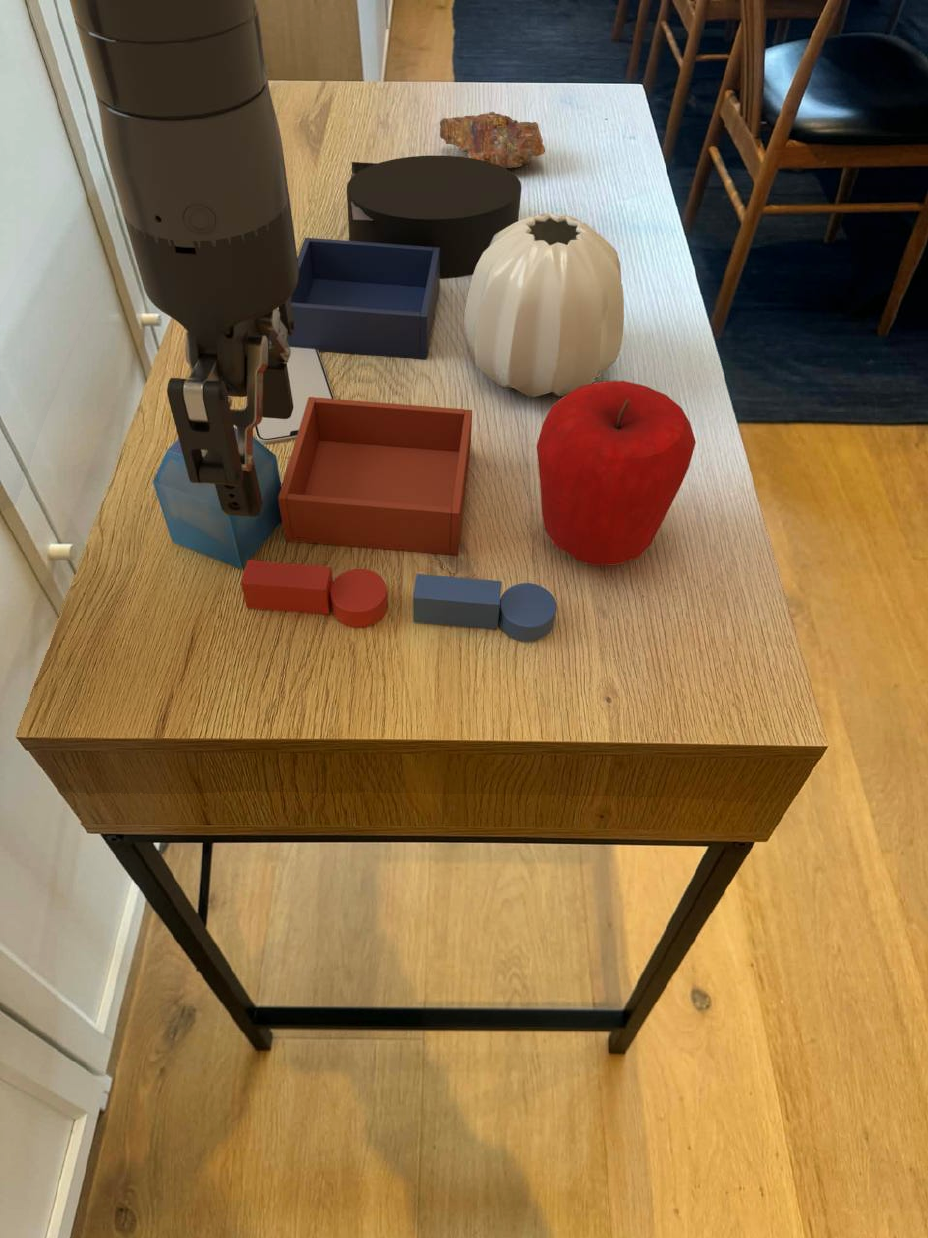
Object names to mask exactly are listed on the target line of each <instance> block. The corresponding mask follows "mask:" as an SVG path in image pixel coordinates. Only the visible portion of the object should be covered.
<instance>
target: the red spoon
mask: <svg viewBox="0 0 928 1238" xmlns="http://www.w3.org/2000/svg"><path fill="white" fill-rule="evenodd" d="M240 587H241V590H242V594H243V598H244V602H245V607H246V609H247V608H248V609H256V610H257V609H258V610H270V611H280V612H281V611H282V612H292V613H305V614H315V615H326V616H329V615H330V614H331V611H332V614H333V616H334V618H335V619H336V620H337V621H338V622H340V623H341V624H343V625H345V626H347V627H350V628H358V629H359V628H366V627H370V626H372V625H373V626H374V625H375V624H377V623H378V622H380V621H381V620H382V619H383V618H384V616H385V615H386V613H387V610H388V606H389V603H388V586H387V583H386V581H385V580H384V578H383V577H382V576H381V575H380V574H379V573H377V572H375V571H373V570H370V569H366V568H353V569H349V570H346V571H343V572H342V573H340V574H339V575H337V576H336V577H335V578H334V576H333V568H332V567H331V566H326V565H314V564H313V565H312V564H304V563H290V562H279V561H268V560H267V561H266V560H255V559H250V560H248V561H247V564H246V565H245V567H244V570H243V573H242V576H241V580H240Z"/></svg>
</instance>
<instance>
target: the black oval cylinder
mask: <svg viewBox="0 0 928 1238" xmlns="http://www.w3.org/2000/svg"><path fill="white" fill-rule="evenodd" d="M350 163H351V174H350V179H349V180H348V182H347V183H346V202H347V221H348V238H349V240H348V241H358V242H371V243H384V244H397V245H411V246H424V247H438V248H440V279H449V278H456V277H457V278H458V277H464V276H470V275H473V273H474V270H475V267H476V265H477V263H478V261H479V259H480V257H481V255H482V253H483V252H484V251H485V250H486V249H487V248H488V247H489V245H490V243H491V241H492V239H493V237H494V235H495V234H496V233H498V232H500V231H501V230H503V229H505V228H506V227H508V226H510V225H512V224H513V223H515V222H518V221H519V217H520V207H521V198H522V197H521V196H522V183H521V180H520V179H519V178H518V175H516V174H514V173H513V172H512V171H511V170H509V169H508V168H503V167H501V166H499V165H496V164H493V163H490V162H487V161H482V160H478V159H473V158H468V157H465V156H459V155H458V156H457V155H454V156H453V155H444V154H443V155H442V154H441V155H417V156H407V157H399V158H393V159H388V160H384V161H381V162H361V161H360V162H359V161H351V162H350Z"/></svg>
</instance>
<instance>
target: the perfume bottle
mask: <svg viewBox="0 0 928 1238" xmlns="http://www.w3.org/2000/svg"><path fill="white" fill-rule="evenodd" d="M234 430H235V435H236V440H237V445H238V430H237V427H234ZM253 458H254V465H255V469H256V474H257V479H258V483H259V488H260V493H261V497H262V502H263V505H262V508H261V511H260V514H259V515H258V516H256V517H251V516H238V515H229V514H226V513H225V512H224V511H223V510H222V508H221V505H220V501H219V498H218V494H217V490H216V486H215V484H211V483H191V482H190V480H189V476H188V472H187V468H186V465H185V461H184V457H183V453H182V449H181V445H180V441H179V438H178V439H176V441H175V442H173V443H172V444H171V445H170V446H169V447H168V448H167V449H166V451H165V454H164V456H163V458H162V459H161V462H160V464H159V466H158V469H157V471H156V473H155V474H154V478H153V479H152V484H153V486H154V491H155V493H156V496H157V499H158V502H159V506H160V508H161V512H162V515H163V518H164V521H165V523H166V527H167V529H168V533H169V537H170V539H171V543H173V544H176V545H179V546H180V547H184V548H186V549H189V550H191V551H193V552H195V553H196V552H197V553H198V554H201V555H204V556H205V557H209V558H211V559H214V560H217V561H218V562H222V563H224V564H227V565H229V566H231V567H234V568H236V569H239V570H243V569H245V567H246V564H247V561H248V560H252V558H253V557H254V556H255V555H256V553H258V552H259V550H260V549H261V548H262V546H263V545H264V544H265V543H266V541H267V540H268V539H269V538H271V536H272V534H273V533H274V532H275V531H276V530H277V528H278V527H279V526H280V525H281V524H282V518H281V512H280V507H279V502H278V496H279V493H280V490H281V487H282V482H281V476H280V470H279V466H278V459H277V455H276V454H275V453H273V452H272V450H270V449H269V448H268V447H267V446H265V444H263V443H260V442H259V441H258V440H257V437H255V436H253Z"/></svg>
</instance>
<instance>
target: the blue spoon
mask: <svg viewBox="0 0 928 1238" xmlns="http://www.w3.org/2000/svg"><path fill="white" fill-rule="evenodd" d="M502 583H503V582H502V581H501V580H493V579H482V578H481V579H480V578H469V577H457V576H456V577H455V576H446V575H435V574H422V573H417V574H416V575H415V581H414V587H413V595H412V615H413V617H412V619H413V620H412V621H413V623H418V624H427V625H428V624H429V625H438V626H439V625H440V626H452V627H453V626H454V627H462V628H463V627H464V628H473V629H474V628H475V629H487V630H498V629H499V627H500V629H501V630H502V631H503V633H504V634H505V635H507V636H508V637H509V638H510V639H513V640H514V641H518V642H523V643H533V642H538V641H541V640H543V639H544V638H546V637H547V636H549V634H550V633H551V632H552V630H553V628H554V626H555V620H556V614H557V609H558V608H557V607H558V605H557V601H556V598H555V597H554V595H553V594H552V592H551V591H549V590H548V589H547V588H545V587H543V586H541V585H539V584H535V583H530V582H524V583H517V584H515V585H512V586H510V587H508V588H507V589H506V590H505V591H504V592H503V593H502Z"/></svg>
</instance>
